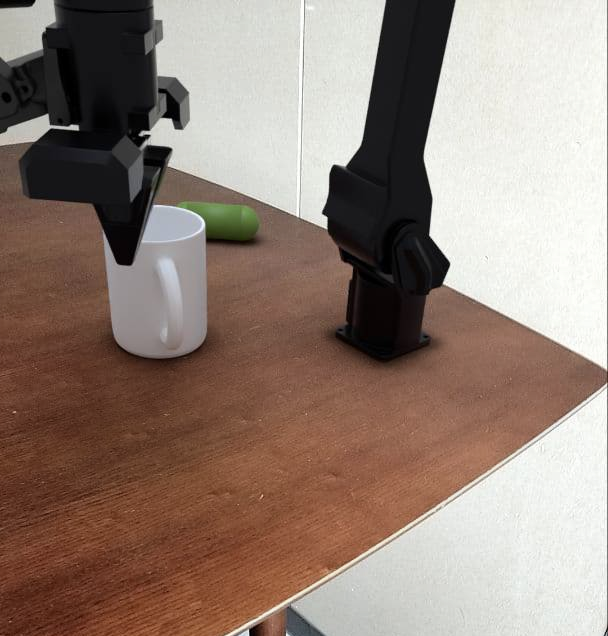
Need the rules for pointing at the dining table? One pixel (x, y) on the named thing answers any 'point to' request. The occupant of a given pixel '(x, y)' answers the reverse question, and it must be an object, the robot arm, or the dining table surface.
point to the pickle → (225, 220)
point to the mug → (161, 287)
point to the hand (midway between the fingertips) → (125, 263)
